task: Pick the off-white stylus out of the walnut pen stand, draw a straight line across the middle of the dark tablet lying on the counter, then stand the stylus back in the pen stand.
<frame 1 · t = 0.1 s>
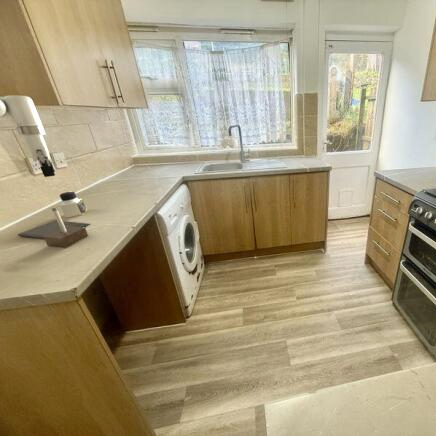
hand: (50, 174, 102), 25 cm above the countertop, tool pointing down, fingers open, 9 cm apart
stylus: (69, 241, 100), resting in pen stand
tablet: (56, 230, 110), on the countertop
medicine bottle: (77, 214, 128), on the countertop
pen stand: (68, 241, 100), on the countertop
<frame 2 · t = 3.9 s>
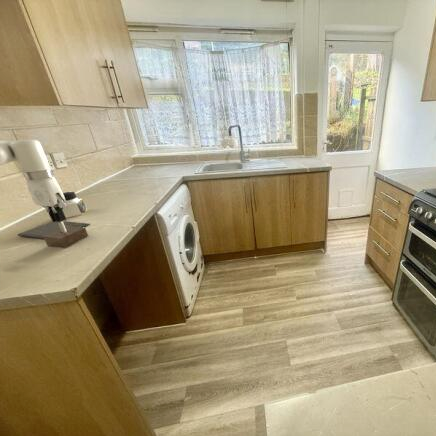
hand: (59, 220, 97), 10 cm above the countertop, tool pointing down, fingers closed on stylus, 1 cm apart
stylus: (68, 241, 100), resting in pen stand, touching gripper
everything else where it was.
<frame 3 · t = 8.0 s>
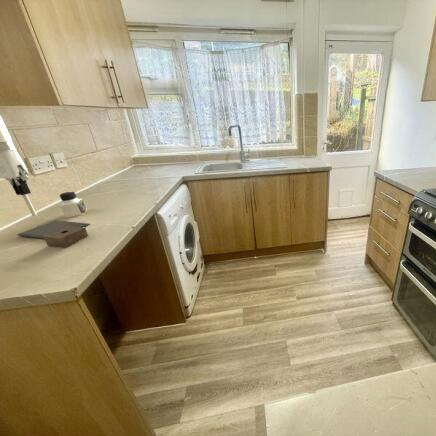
hand: (23, 193, 98), 19 cm above the countertop, tool pointing down, fingers closed on stylus, 1 cm apart
stylus: (34, 215, 102), point 10 cm above the countertop, touching gripper
everything else where it was.
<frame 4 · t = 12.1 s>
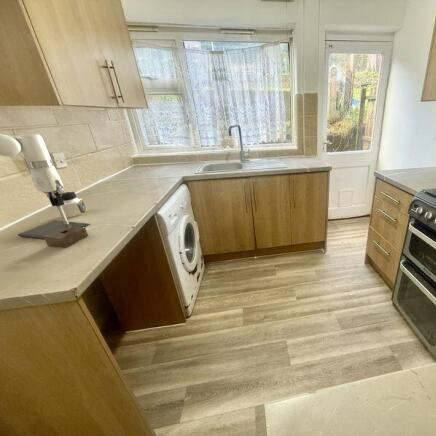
hand: (58, 205, 110), 11 cm above the countertop, tool pointing down, fingers closed on stylus, 1 cm apart
stylus: (66, 224, 114), point 1 cm above the countertop, touching gripper, tablet
everything else where it was.
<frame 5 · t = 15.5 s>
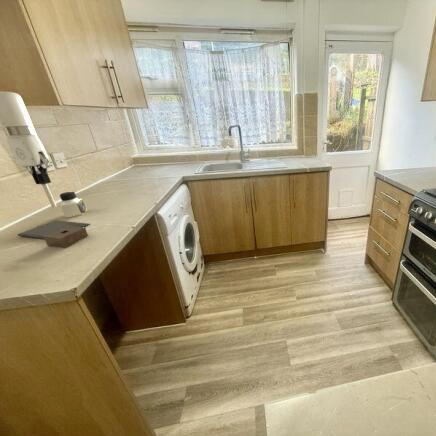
hand: (43, 183, 92), 24 cm above the countertop, tool pointing down, fingers closed on stylus, 1 cm apart
stylus: (54, 206, 96), point 15 cm above the countertop, touching gripper
everything else where it was.
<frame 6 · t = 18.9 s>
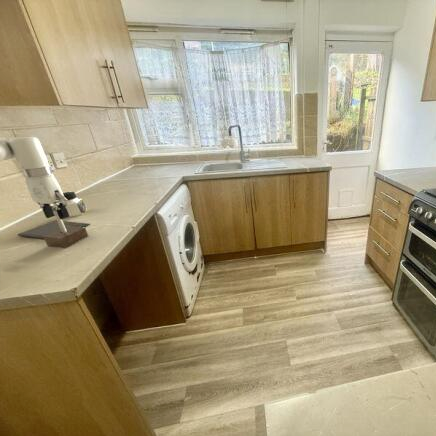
hand: (58, 217, 96), 11 cm above the countertop, tool pointing down, fingers open, 6 cm apart
stylus: (69, 241, 100), resting in pen stand
everything else where it was.
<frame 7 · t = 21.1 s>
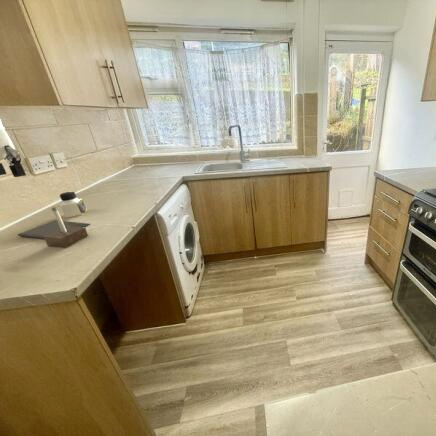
hand: (10, 175, 87), 28 cm above the countertop, tool pointing down, fingers open, 9 cm apart
nothing on the countertop moved.
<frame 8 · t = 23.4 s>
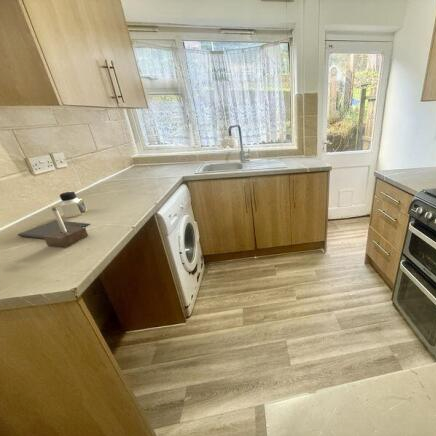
nothing on the countertop moved.
at the end: stylus 0.0 cm off-centre in the pen stand, point 0.0 cm above the pen stand's base; stylus tilted 0°; the gripper is holding nothing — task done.
